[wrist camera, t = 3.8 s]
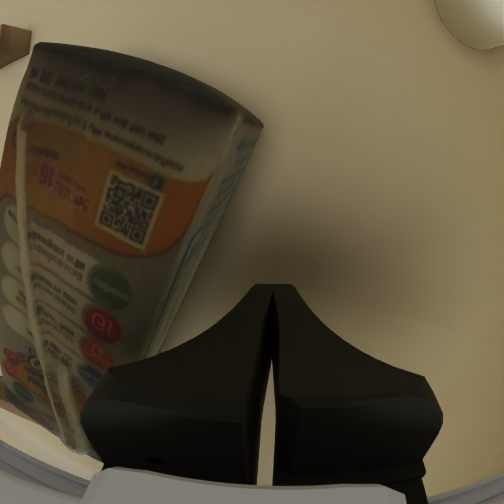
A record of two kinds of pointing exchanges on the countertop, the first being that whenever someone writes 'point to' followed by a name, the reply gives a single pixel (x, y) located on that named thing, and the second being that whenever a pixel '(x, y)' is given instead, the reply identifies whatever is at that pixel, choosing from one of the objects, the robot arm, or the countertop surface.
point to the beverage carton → (104, 218)
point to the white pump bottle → (474, 21)
